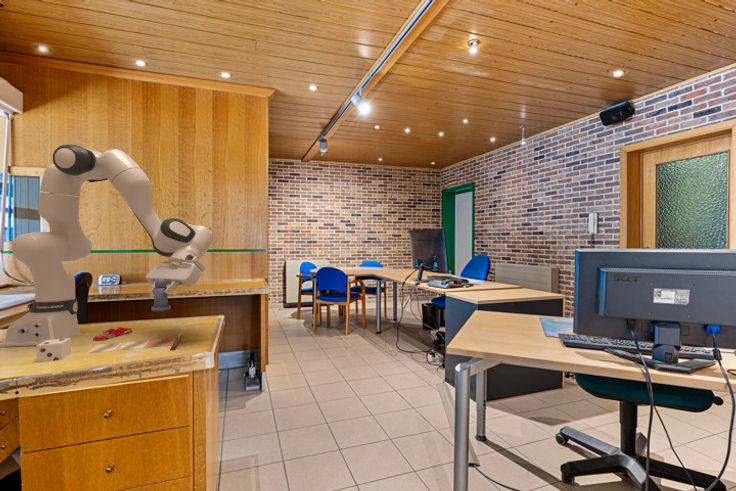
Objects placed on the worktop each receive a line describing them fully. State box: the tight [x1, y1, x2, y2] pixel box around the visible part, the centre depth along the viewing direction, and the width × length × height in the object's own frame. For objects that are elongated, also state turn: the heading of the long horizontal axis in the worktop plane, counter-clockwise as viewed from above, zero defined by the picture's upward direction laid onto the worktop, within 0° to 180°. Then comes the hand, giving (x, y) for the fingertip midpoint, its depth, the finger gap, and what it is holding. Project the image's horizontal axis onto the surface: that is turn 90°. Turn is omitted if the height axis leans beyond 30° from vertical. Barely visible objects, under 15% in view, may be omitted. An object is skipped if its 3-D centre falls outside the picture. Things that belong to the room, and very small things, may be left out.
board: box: [86, 336, 181, 354], centre depth 118 cm, size 26×12×1 cm, turn 110°
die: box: [35, 337, 72, 363], centre depth 106 cm, size 6×6×6 cm
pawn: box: [151, 278, 171, 312], centre depth 121 cm, size 6×6×11 cm
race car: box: [92, 326, 133, 342], centre depth 129 cm, size 13×5×4 cm, turn 163°
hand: (159, 293), depth 120 cm, fingers closed on pawn, 4 cm apart
